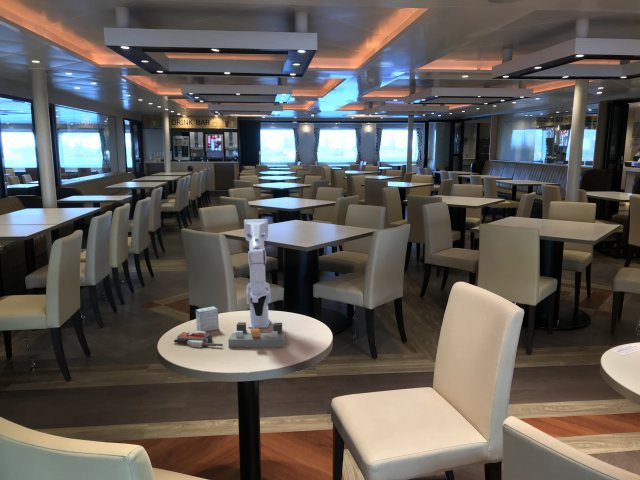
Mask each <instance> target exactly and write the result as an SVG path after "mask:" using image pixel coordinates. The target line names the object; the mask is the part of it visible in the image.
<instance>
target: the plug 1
mask: <svg viewBox="0 0 640 480" xmlns="http://www.w3.org/2000/svg"><path fill="white" fill-rule="evenodd" d="M236 331H243V333H248V329H247V322H246V321H244V322H241V321H238V322H237V324H236Z"/></svg>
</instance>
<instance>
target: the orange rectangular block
mask: <svg viewBox="0 0 640 480" xmlns="http://www.w3.org/2000/svg"><path fill="white" fill-rule="evenodd" d="M250 333H251V335H252V338H261V333H262V332H261V330H260V328H250Z"/></svg>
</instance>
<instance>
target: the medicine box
mask: <svg viewBox="0 0 640 480" xmlns="http://www.w3.org/2000/svg"><path fill="white" fill-rule="evenodd" d="M195 318H196V319H195V320H196V321H195V322H196V331H205V332H206V333H207V332H209V331H215V330H219V329H220V325H219V309H218V308H217V307H215V306H209V307H203V308H198V309H197V308H196V309H195Z"/></svg>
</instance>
